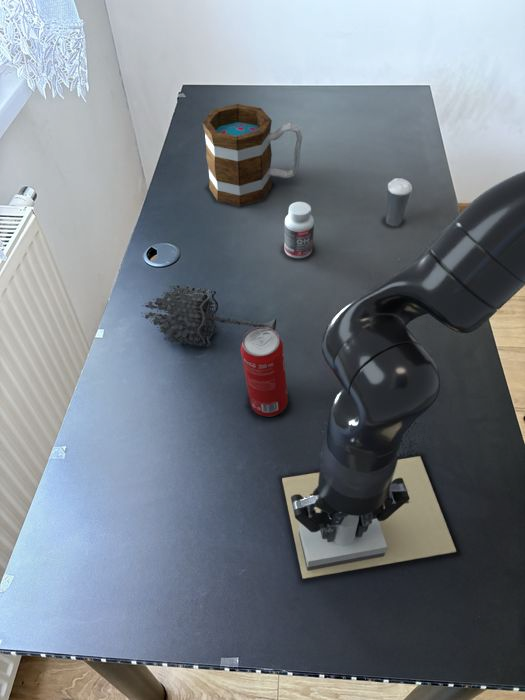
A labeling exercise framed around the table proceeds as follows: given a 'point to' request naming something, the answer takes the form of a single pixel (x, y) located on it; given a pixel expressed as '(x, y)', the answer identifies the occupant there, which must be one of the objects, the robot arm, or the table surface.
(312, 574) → the stain mat
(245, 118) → the mug
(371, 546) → the scrub brush
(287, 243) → the pill bottle
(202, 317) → the dark grey model tree
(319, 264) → the table surface
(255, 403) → the beverage can
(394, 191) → the milkshake
